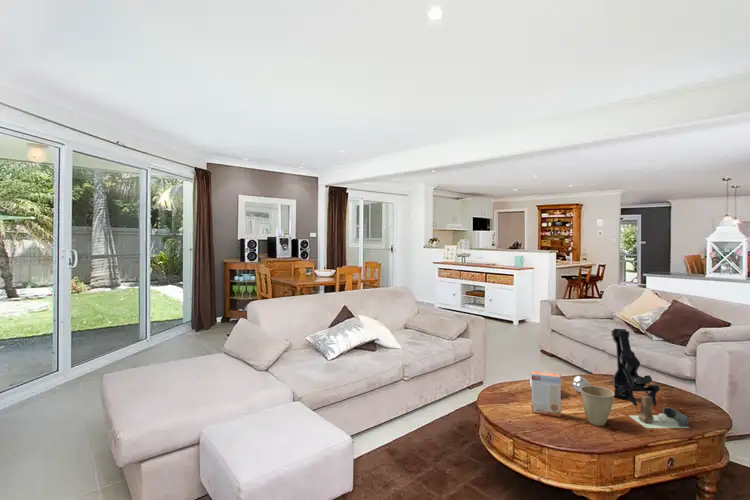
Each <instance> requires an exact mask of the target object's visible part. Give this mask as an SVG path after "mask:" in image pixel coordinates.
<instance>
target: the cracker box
mask: <svg viewBox="0 0 750 500" xmlns="http://www.w3.org/2000/svg"><path fill="white" fill-rule="evenodd" d="M561 377H562V376H561V374H559V373H551V372H544V371H543V372H542V371H538V370H537V371H534V370H533V371H532V373H531V378H532V387H531V413H532V414H539V415H545V416H551V417H558V418H560V417H561V415H562V413H561V412H562V411H561V410H562V409H561V408H562V407H561V406H562V405H561V404H562V403H561V400H562V399H561V398H562V394H561V391H562V390H561V388H562V386H561Z"/></svg>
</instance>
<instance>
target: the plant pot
mask: <svg viewBox="0 0 750 500" xmlns="http://www.w3.org/2000/svg"><path fill="white" fill-rule="evenodd" d="M580 395H581V401H582V406H583V410H584V414H585V417H586V419H587V422H588V423H589V424H591V425H593V426H598V427H601V426H605V424H606V423H607V421H608V418H609V416H610V414H611V410H612V408H613V404H614V400H615V397H614V396H615V391H612V390H610V389H608V388H605V387H601V386H594V385H593V386H592V385H589V386H583V387H581V393H580Z"/></svg>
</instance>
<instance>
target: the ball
mask: <svg viewBox="0 0 750 500" xmlns="http://www.w3.org/2000/svg"><path fill="white" fill-rule="evenodd" d="M657 415H658V419H659V420H660V421H662V422H665V421H667V419H668V418H667V416H666V415H665V414H664V413H663V412H661V413H658V414H657Z"/></svg>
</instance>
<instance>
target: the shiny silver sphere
mask: <svg viewBox="0 0 750 500" xmlns="http://www.w3.org/2000/svg"><path fill="white" fill-rule="evenodd" d="M583 386H590V382H589V381H588V379H586V378H584V377H582V375H576V376H575V377H574V378H573V382H572V387H573V389H575V391H576V392H578V393H580V394H581V387H583Z"/></svg>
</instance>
